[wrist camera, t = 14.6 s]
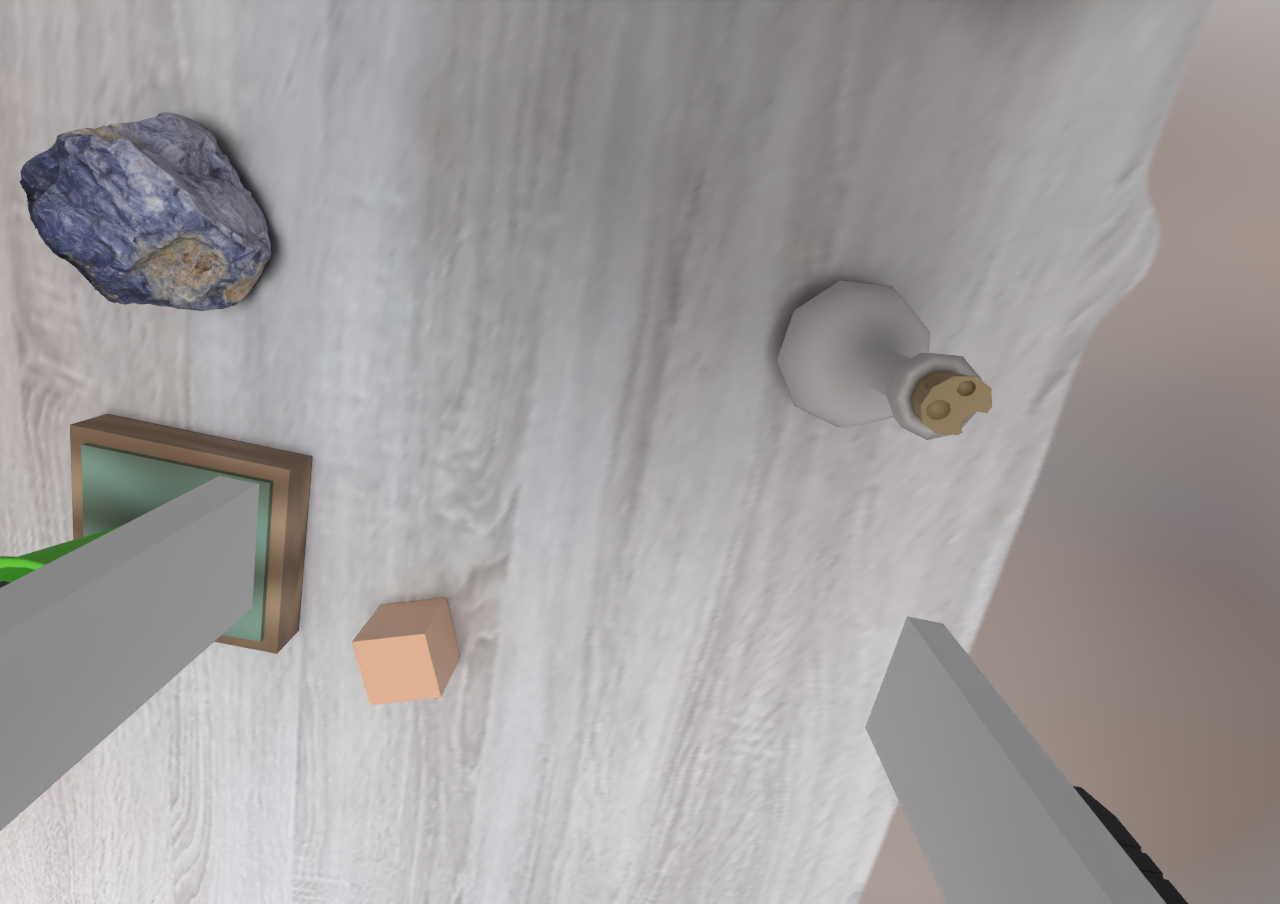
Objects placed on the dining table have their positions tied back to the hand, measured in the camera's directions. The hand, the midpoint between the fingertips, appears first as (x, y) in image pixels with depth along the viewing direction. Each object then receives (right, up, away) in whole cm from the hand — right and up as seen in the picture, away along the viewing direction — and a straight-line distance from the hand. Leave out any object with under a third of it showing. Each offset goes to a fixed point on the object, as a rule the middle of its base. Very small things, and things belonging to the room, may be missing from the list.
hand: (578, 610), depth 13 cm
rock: (-26, +18, +29) cm, 43 cm away
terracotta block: (-15, -10, +36) cm, 41 cm away
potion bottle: (+14, +10, +30) cm, 35 cm away
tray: (-30, -2, +34) cm, 45 cm away
